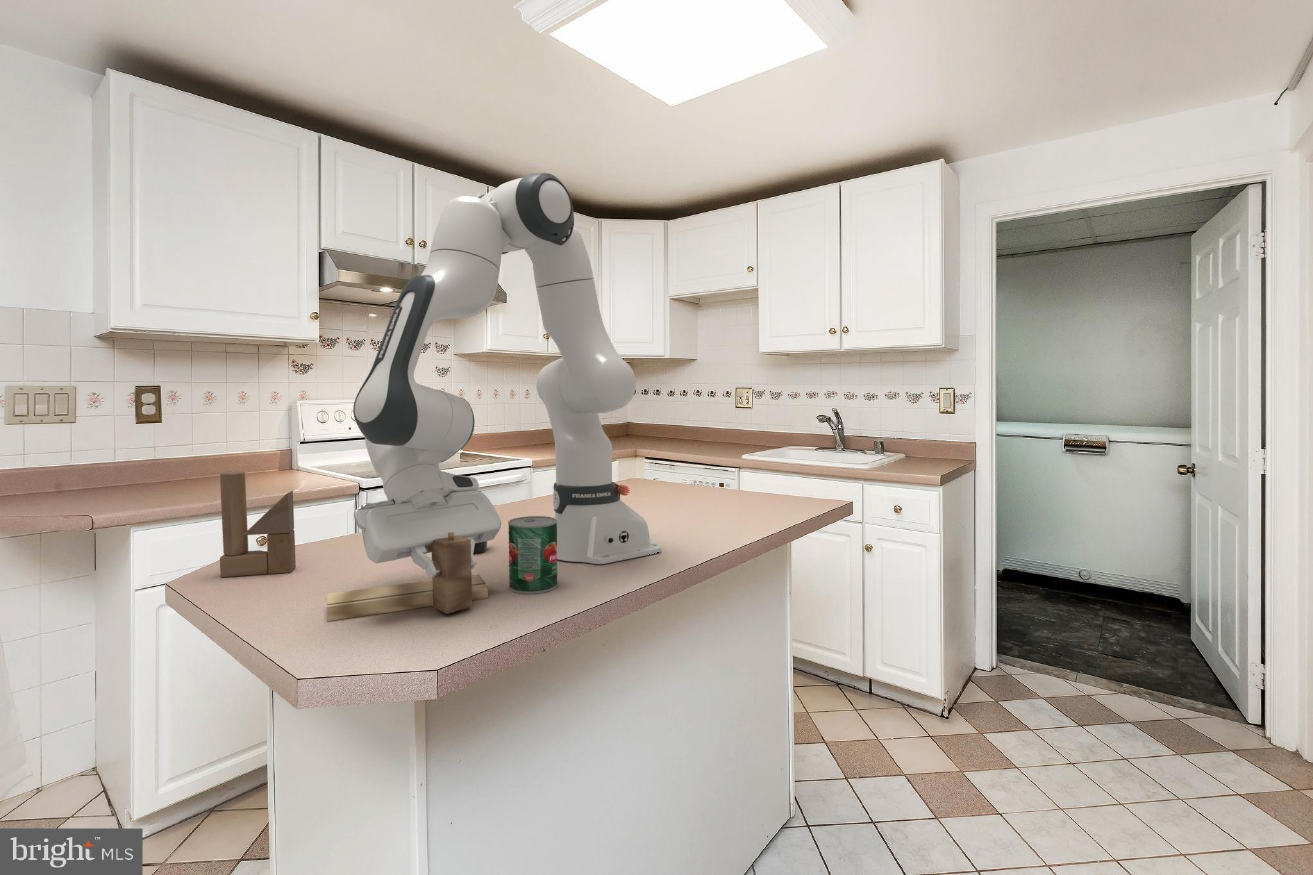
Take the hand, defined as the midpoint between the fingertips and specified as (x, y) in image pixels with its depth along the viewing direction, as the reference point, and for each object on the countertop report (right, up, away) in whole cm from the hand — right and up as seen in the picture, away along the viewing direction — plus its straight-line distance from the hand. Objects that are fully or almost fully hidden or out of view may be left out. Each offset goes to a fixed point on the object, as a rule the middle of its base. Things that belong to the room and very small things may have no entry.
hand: (454, 571), depth 89 cm
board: (-8, -6, +4) cm, 11 cm away
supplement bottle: (-8, -4, +35) cm, 36 cm away
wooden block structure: (-41, -5, +19) cm, 45 cm away
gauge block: (0, -5, +1) cm, 5 cm away
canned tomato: (+9, -5, +12) cm, 16 cm away
